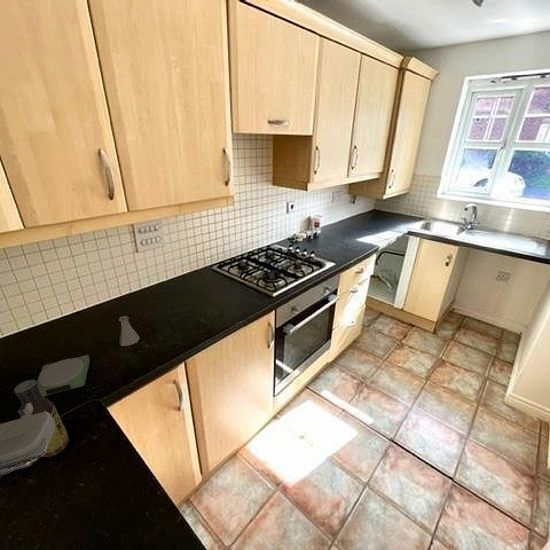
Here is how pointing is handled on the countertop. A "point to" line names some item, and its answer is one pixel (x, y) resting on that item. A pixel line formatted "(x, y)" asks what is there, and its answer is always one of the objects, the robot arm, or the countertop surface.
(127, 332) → the flask
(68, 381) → the scale
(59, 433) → the sauce bottle
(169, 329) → the countertop surface
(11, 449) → the robot arm
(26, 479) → the countertop surface
